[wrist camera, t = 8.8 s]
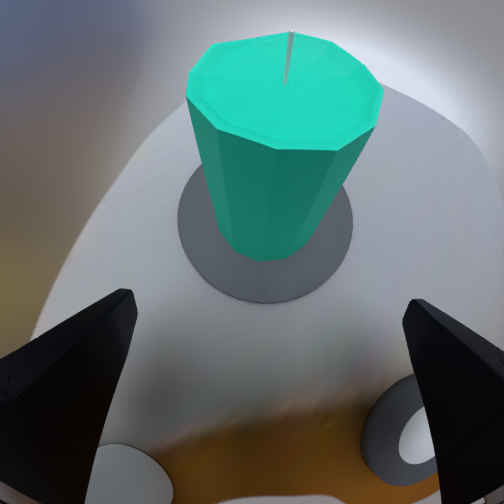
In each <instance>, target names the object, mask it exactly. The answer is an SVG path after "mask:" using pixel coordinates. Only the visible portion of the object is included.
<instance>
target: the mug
mask: <svg viewBox="0 0 504 504" xmlns="http://www.w3.org/2000/svg"><path fill="white" fill-rule="evenodd" d="M172 499H173V487H172V483H171V481H170V479H169V477H168V475H167V474H166V472H165V471H164V470H163V468H162V467H161V466H160V465H159V464H158V463H157V462H156V461H154V460H153V459H152V458H151V457H149V456H148V455H146V454H145V453H143V452H141V451H139V450H137V449H135V448H133V447H130V446H126V445H122V444H107V445H103V446H101V447H99V448H97V452H96V456H95V460H94V464H93V467H92V472H91V477H90V481H89V485H88V490H87V494H86V499H85V504H171V502H172Z"/></svg>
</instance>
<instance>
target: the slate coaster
mask: <svg viewBox="0 0 504 504" xmlns="http://www.w3.org/2000/svg"><path fill="white" fill-rule="evenodd" d="M178 230H179V236H180V240H181V243H182V246H183V248H184V250H185V252H186V254H187V256H188V258H189V260H190V261H191V263H192V264H193V266H194V267H195V268H196V270H197V271H198V272H199V273H200V274H201V275H202V276H203V277H204V278H205V280H207V281H208V282H209V283H210V284H212V285H213V286H214V287H216V288H217V289H219V290H221V291H222V292H224V293H226V294H228V295H230V296H233V297H235V298H238V299H241V300H245V301H249V302H256V303H277V302H285V301H288V300H292V299H296V298H298V297H301V296H303V295H305V294H307V293H309V292H311V291H312V290H314V289H316V288H317V287H319V286H320V285H321V284H323V283H324V282H325V281H326V280H327V279H328V278H330V277H331V275H332V274H333V273H334V272H335V271H336V270H337V269H338V267H339V266H340V264H341V263H342V261H343V260H344V257H345V255H346V253H347V251H348V248H349V245H350V242H351V237H352V230H353V217H352V210H351V205H350V202H349V198H348V196H347V193H346V191H345V189H344V187H343V185H342V186H341V188H340V189H339V191H338V193H337V195H336V196H335V198H334V200H333V201H332V203H331V205H330V206H329V208H328V210H327V211H326V213H325V215H324V216H323V218H322V219H321V221H320V223H319V224H318V226H317V228H316V229H315V231H314V233H313V234H312V236H311V237H310V239H309V241H308V242H307V244H305V245H304V246H303V247H301V248H300V249H299V250H297V251H296V252H295V253H293V254H292V255H291V256H289V257H288V258H287V259H280V260H271V261H262V262H259V261H256V260H254V259H252V258H249V257H247V256H245V255H242V254H240V253H237V252H235V251H234V250H233V248H232V247H231V246H230V244H229V243H228V242H227V240H226V239H225V238H224V236H223V235H222V234H221V232H220V231H219V227H218V224H217V220H216V216H215V212H214V208H213V205H212V201H211V197H210V193H209V189H208V185H207V181H206V177H205V173H204V170H203V166H202V164H201V165H200V166H199V167H198V168H197V169H196V171H195V172H194V173H193V175H192V176H191V177H190V179H189V181H188V182H187V184H186V186H185V188H184V190H183V193H182V195H181V199H180V203H179V208H178Z"/></svg>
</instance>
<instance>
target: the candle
mask: <svg viewBox="0 0 504 504" xmlns="http://www.w3.org/2000/svg"><path fill="white" fill-rule="evenodd" d="M383 93H384V90H383V88H382V87H381V86H380V84H379V83H378V82H377V80H376V79H375V78H374V76H373V75H372V74H371V73H370V71H369V70H368V69H367V68H366V67H365V65H364V64H362V63H361V62H360V61H358V60H357V59H355V58H354V57H353V56H352V55H350V54H349V53H347V52H346V51H345V50H343V49H342V48H340V47H339V46H337V45H336V44H334V43H333V42H330V41H327V40H323V39H320V38H316V37H311V36H308V35H303V34H299V33H295V31H293V30H290V31H289V32H287V33H280V34H274V35H268V36H262V37H257V38H252V39H245V40H237V41H230V42H223V43H217V44H212V45H211V46H210V48H209V49H208V50H207V51H206V52H205V54H204V55H203V56H202V57H201V59H200V60H199V61H198V62H197V64H196V65H195V66H194V68H193V69H192V70H191V71H190V73H189V78H188V84H187V91H186V99H187V103H188V108H189V112H190V116H191V120H192V125H193V129H194V133H195V137H196V141H197V145H198V149H199V153H200V158H201V162H202V166H203V170H204V173H205V177H206V181H207V185H208V189H209V193H210V197H211V201H212V205H213V208H214V212H215V216H216V220H217V224H218V227H219V231H220V232H221V234H222V235H223V236H224V238H225V239H226V240H227V242H228V243H229V244H230V246H231V247H232V248H233V250H234V251H235V252H237V253H240V254H242V255H245V256H247V257H249V258H252V259H254V260H256V261H259V262H262V261H271V260H280V259H287V258H288V257H289V256H291V255H292V254H293V253H295V252H296V251H297V250H299V249H300V248H301V247H303V246H304V245H305V244H307V242H308V241H309V239H310V237H311V236H312V234H313V233H314V231H315V229H316V228H317V226H318V224H319V223H320V221H321V219H322V218H323V216H324V215H325V213H326V211H327V210H328V208H329V206H330V205H331V203H332V201H333V200H334V198H335V196H336V195H337V193H338V191H339V189H340V188H341V186H342V184H343V183H344V181H345V179H346V178H347V176H348V174H349V172H350V171H351V169H352V167H353V165H354V164H355V162H356V160H357V158H358V157H359V155H360V153H361V151H362V150H363V148H364V146H365V144H366V142H367V141H368V139H369V137H370V135H371V133H372V132H373V130H374V128H375V126H376V123H377V119H378V114H379V110H380V106H381V102H382V98H383Z"/></svg>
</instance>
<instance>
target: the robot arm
mask: <svg viewBox="0 0 504 504" xmlns="http://www.w3.org/2000/svg"><path fill="white" fill-rule="evenodd" d="M137 315H138V311H137V306H136V302H135V298H134V294H133V291H132V290H130V289H122V288H120V289H118V290H116V291H114V292H113V293H111V294H109V295H107V296H106V297H104V298H102V299H100V300H99V301H97V302H95V303H94V304H92V305H90V306H88V307H87V308H85V309H83V310H82V311H80V312H78V313H77V314H75V315H73V316H72V317H70V318H68V319H67V320H65V321H63V322H62V323H60V324H58V325H57V326H55V327H53V328H52V329H50V330H48V331H47V332H45V333H43V334H42V335H40V336H39V337H38V338H35V339H34V340H32V341H30V342H29V343H27V344H26V345H24V346H22V347H21V348H19V349H17V350H16V351H14V352H12V353H10V354H8V355H6V356H5V357H3V358H1V359H0V504H85V499H86V494H87V490H88V485H89V481H90V477H91V472H92V467H93V464H94V460H95V456H96V452H97V448H98V445H99V441H100V438H101V434H102V431H103V427H104V424H105V421H106V417H107V414H108V411H109V408H110V405H111V402H112V398H113V395H114V392H115V389H116V386H117V384H118V381H119V378H120V375H121V372H122V369H123V366H124V364H125V361H126V358H127V355H128V351H129V347H130V343H131V339H132V335H133V331H134V327H135V324H136V320H137ZM402 325H403V329H404V333H405V337H406V342H407V346H408V350H409V355H410V359H411V363H412V367H413V370H414V373H415V376H416V380H417V383H418V386H419V390H420V393H421V397H422V401H423V405H424V408H425V412H426V416H427V420H428V425H429V429H430V433H431V438H432V443H433V448H434V453H435V458H436V464H437V471H438V477H439V485H440V493H441V502H442V504H471V503H473V502H475V501H477V500H479V499H481V498H483V497H484V500H485V503H483V504H504V351H502V350H501V349H499V348H498V347H496V346H495V345H493V344H492V343H491V342H489V341H488V340H486V339H485V338H483V337H482V336H480V335H478V334H477V333H475V332H474V331H472V330H471V329H469V328H468V327H466V326H465V325H463V324H462V323H460V322H458V321H457V320H455V319H454V318H452V317H451V316H449V315H447V314H446V313H444V312H443V311H441V310H439V309H438V308H436V307H434V306H433V305H431V304H430V303H428V302H426V301H425V300H423V299H412V300H411V301H410V302H409V304H408V307H407V309H406V312H405V314H404V317H403V320H402Z"/></svg>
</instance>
